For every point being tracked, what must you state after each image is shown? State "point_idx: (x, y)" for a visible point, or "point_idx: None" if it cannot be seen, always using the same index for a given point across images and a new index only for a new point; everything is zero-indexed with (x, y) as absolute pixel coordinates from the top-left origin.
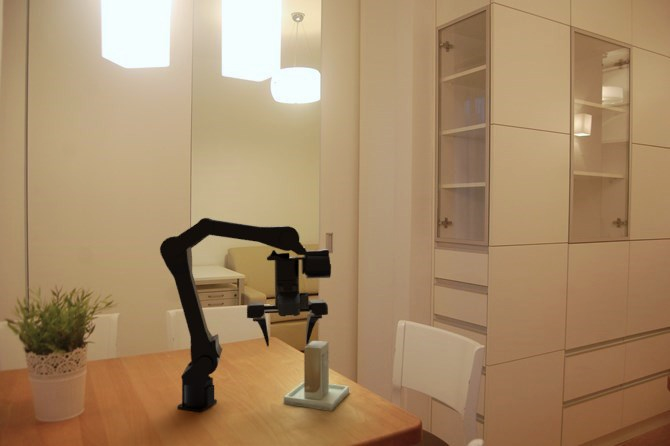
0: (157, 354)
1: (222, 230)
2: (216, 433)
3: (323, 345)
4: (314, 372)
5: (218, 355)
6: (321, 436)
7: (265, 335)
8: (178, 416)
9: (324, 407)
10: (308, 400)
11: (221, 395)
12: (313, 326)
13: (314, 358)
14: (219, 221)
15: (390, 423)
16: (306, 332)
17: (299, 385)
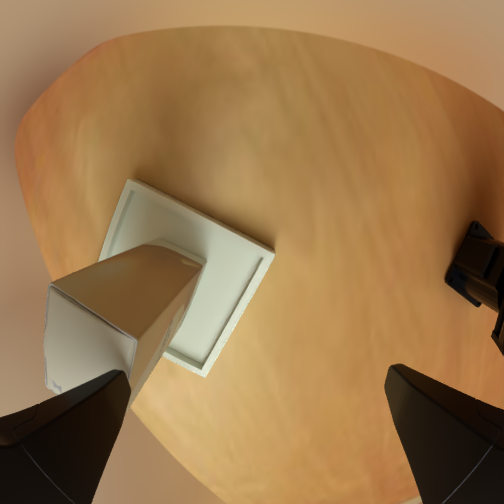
0: None
1: None
2: (429, 95)
3: (47, 339)
4: (140, 265)
5: None
6: (185, 41)
7: (451, 397)
8: (498, 209)
9: (152, 188)
10: (193, 211)
11: (429, 325)
12: (8, 416)
13: (109, 282)
14: None
15: (45, 116)
16: (97, 437)
17: (220, 343)
